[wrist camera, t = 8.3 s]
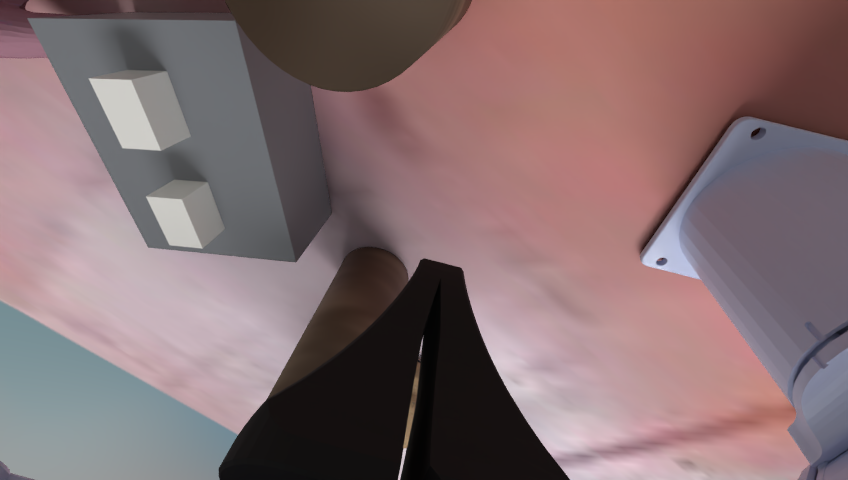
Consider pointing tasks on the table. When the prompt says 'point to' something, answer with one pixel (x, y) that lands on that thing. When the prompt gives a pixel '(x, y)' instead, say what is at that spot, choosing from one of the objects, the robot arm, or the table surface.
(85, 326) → the table surface
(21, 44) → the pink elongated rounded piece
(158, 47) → the block
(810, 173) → the robot arm
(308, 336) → the walnut post
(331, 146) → the table surface
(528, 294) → the table surface
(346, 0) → the walnut post
